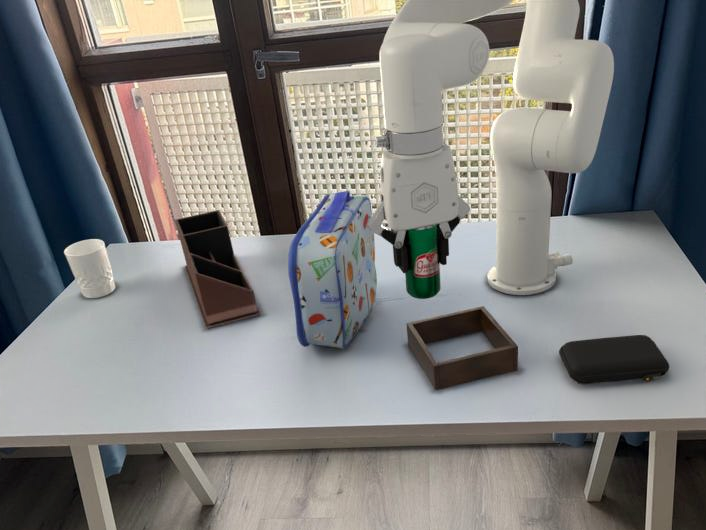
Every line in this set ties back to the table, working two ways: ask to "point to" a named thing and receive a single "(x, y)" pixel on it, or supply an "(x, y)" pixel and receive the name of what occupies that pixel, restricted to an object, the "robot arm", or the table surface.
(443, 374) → the crate
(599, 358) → the carrying case
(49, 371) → the table surface
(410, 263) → the soda can
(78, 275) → the white cup
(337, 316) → the lunch box
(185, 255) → the desk organizer
